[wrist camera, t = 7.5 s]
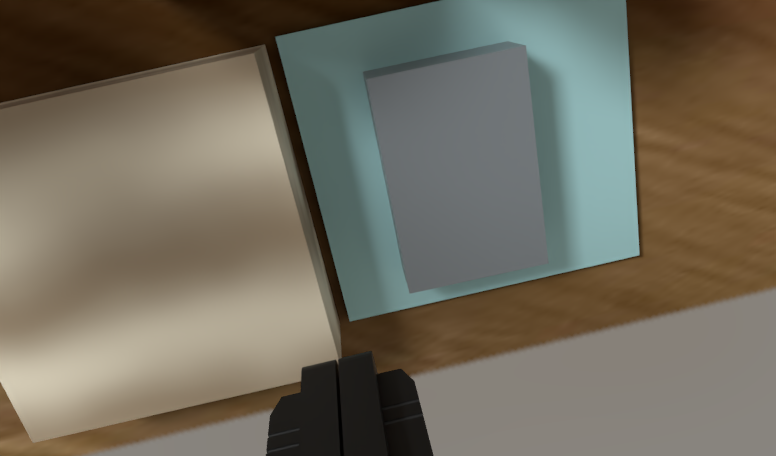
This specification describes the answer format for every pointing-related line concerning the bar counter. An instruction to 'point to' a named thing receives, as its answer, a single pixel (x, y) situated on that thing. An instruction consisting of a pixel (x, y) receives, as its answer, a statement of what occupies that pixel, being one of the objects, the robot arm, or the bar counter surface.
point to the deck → (155, 246)
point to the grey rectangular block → (460, 164)
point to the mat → (551, 122)
